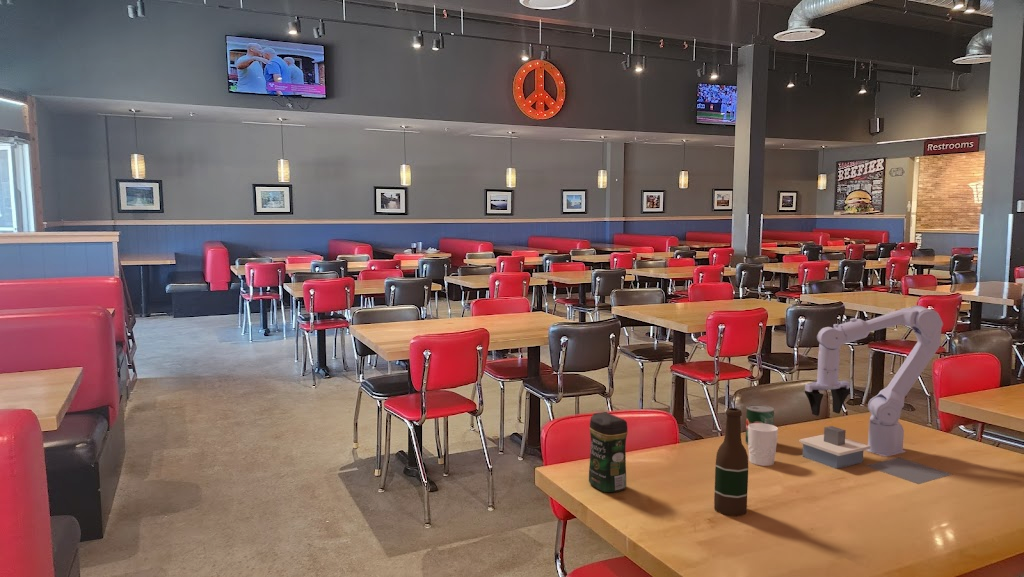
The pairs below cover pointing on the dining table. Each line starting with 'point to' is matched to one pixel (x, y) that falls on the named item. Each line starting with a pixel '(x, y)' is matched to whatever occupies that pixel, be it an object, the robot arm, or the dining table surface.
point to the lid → (834, 442)
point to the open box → (832, 457)
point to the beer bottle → (731, 469)
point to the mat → (909, 470)
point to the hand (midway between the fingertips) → (826, 413)
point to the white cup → (762, 443)
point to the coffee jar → (608, 452)
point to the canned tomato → (758, 416)
